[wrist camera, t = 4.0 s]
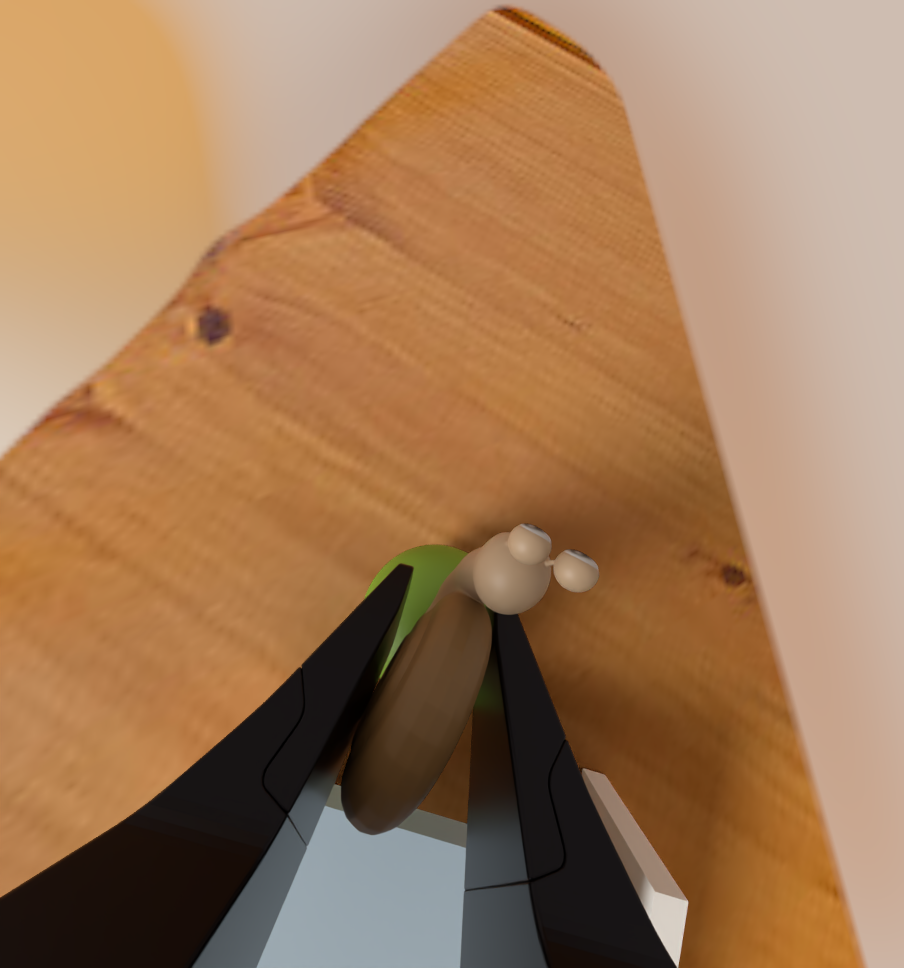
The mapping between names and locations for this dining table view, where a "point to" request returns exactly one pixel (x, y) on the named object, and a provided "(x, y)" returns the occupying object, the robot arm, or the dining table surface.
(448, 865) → the trapdoor
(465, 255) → the dining table surface
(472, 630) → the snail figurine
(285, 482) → the dining table surface
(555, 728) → the robot arm
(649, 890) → the frame
